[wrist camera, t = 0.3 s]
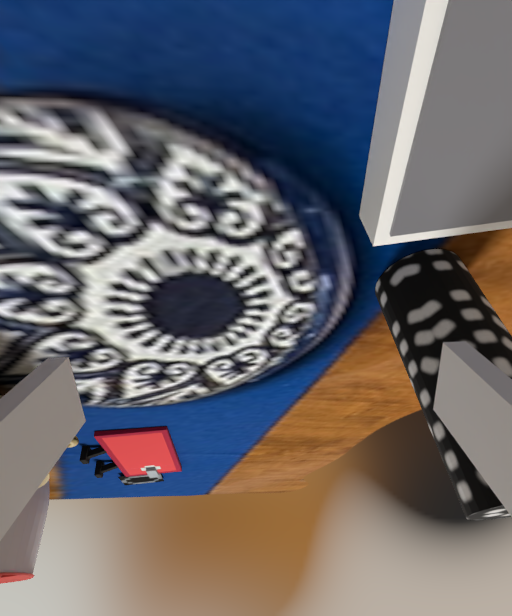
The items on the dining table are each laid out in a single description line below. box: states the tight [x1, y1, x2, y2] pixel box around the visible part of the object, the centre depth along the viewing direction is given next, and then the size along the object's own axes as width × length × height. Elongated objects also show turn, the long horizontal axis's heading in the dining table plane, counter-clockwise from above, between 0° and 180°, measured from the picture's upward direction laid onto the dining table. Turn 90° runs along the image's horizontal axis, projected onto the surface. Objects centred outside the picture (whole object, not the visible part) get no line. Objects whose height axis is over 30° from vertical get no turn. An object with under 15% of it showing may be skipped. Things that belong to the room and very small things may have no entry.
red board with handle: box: [80, 426, 182, 485], centre depth 68 cm, size 30×3×15 cm
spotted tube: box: [375, 249, 512, 520], centre depth 29 cm, size 8×8×20 cm
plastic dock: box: [359, 0, 512, 246], centre depth 21 cm, size 16×14×4 cm
